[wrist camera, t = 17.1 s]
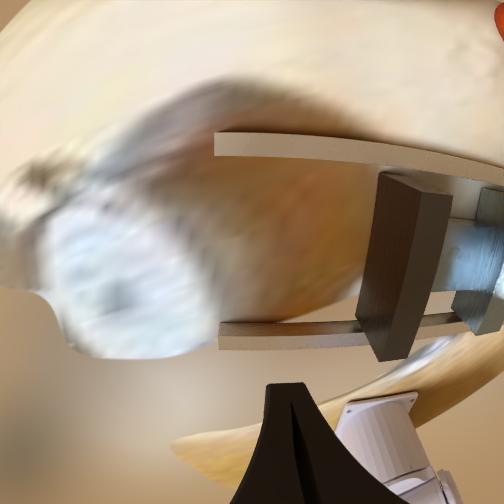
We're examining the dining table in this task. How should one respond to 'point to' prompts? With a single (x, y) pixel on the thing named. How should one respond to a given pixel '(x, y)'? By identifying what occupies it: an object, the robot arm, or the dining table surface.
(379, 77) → the dining table surface
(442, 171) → the vise base
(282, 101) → the dining table surface
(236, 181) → the dining table surface
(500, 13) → the toy drill
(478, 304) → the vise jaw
